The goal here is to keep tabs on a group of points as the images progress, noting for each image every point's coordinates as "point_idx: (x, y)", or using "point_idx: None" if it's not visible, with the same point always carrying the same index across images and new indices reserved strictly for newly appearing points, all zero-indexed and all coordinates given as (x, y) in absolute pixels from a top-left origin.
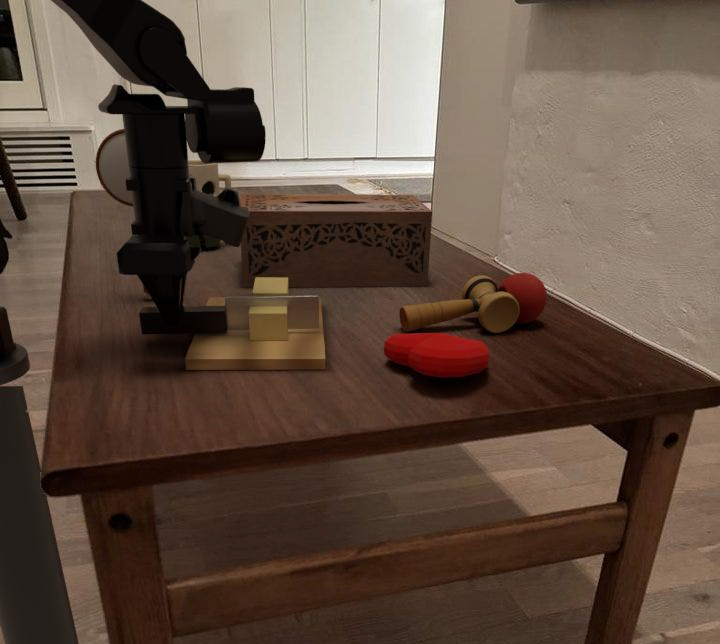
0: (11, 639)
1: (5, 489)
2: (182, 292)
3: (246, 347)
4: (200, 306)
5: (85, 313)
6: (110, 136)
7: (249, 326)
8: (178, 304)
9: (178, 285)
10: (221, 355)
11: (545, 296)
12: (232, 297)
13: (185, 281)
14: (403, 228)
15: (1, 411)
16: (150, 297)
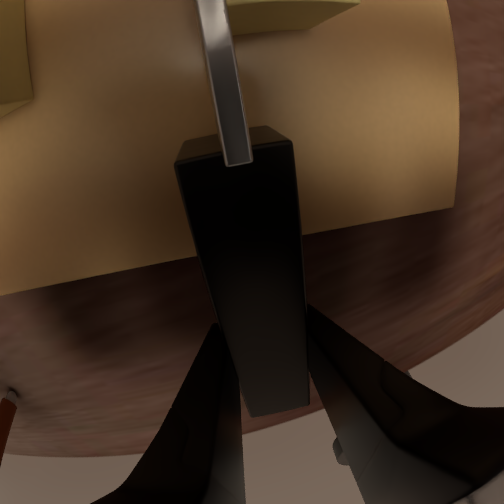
0: None
1: None
2: (221, 389)
3: (379, 40)
4: (220, 284)
5: (125, 443)
6: None
7: (331, 17)
8: (362, 345)
9: (439, 395)
10: (441, 115)
11: None
12: (239, 107)
13: (188, 425)
14: None
15: (407, 373)
16: (12, 394)
